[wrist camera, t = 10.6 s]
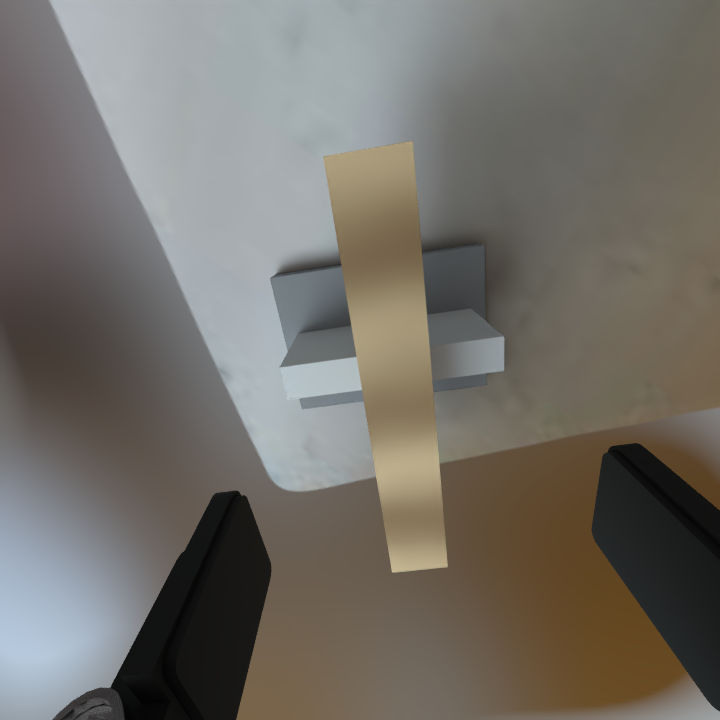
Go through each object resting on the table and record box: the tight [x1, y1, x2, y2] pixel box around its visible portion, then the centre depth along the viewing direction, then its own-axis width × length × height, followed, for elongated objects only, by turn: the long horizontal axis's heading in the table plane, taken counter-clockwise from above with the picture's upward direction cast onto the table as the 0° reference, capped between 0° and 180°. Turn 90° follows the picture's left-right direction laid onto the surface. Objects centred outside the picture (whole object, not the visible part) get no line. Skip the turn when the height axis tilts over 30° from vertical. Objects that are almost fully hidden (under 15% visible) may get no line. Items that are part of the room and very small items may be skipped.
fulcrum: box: [270, 243, 504, 409], centre depth 22 cm, size 10×14×8 cm
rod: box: [323, 141, 448, 572], centre depth 17 cm, size 20×3×4 cm, turn 9°
